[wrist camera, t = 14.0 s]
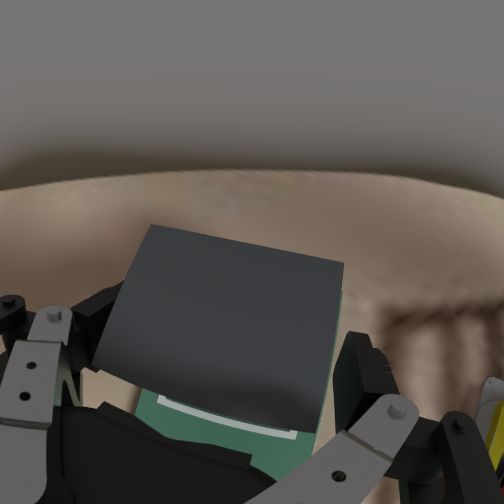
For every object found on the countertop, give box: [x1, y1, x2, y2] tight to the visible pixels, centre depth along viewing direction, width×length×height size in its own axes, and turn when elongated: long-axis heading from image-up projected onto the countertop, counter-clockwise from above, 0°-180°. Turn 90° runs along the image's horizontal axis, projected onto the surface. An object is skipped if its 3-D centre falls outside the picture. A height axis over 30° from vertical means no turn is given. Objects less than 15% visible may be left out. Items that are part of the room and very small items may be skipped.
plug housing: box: [91, 224, 344, 434], centre depth 11 cm, size 4×6×10 cm
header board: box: [134, 291, 342, 481], centre depth 14 cm, size 12×10×3 cm
